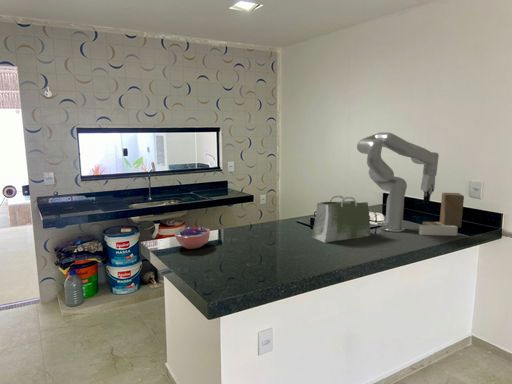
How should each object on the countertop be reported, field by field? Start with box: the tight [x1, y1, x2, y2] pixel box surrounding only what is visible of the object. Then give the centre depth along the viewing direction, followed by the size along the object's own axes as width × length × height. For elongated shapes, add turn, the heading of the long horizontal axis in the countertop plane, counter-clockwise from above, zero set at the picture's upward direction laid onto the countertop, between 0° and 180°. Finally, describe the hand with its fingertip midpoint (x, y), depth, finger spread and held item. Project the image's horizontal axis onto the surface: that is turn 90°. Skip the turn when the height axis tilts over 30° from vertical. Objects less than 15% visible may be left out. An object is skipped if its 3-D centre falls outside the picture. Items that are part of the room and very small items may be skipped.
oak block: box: [421, 221, 446, 226], centre depth 223 cm, size 10×9×5 cm
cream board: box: [418, 224, 459, 237], centre depth 217 cm, size 20×3×5 cm, turn 86°
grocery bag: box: [310, 195, 372, 244], centre depth 212 cm, size 32×14×23 cm, turn 116°
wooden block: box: [439, 192, 465, 229], centre depth 236 cm, size 10×10×20 cm
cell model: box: [174, 226, 211, 250], centre depth 193 cm, size 17×20×11 cm
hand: (426, 202), depth 232 cm, fingers closed
